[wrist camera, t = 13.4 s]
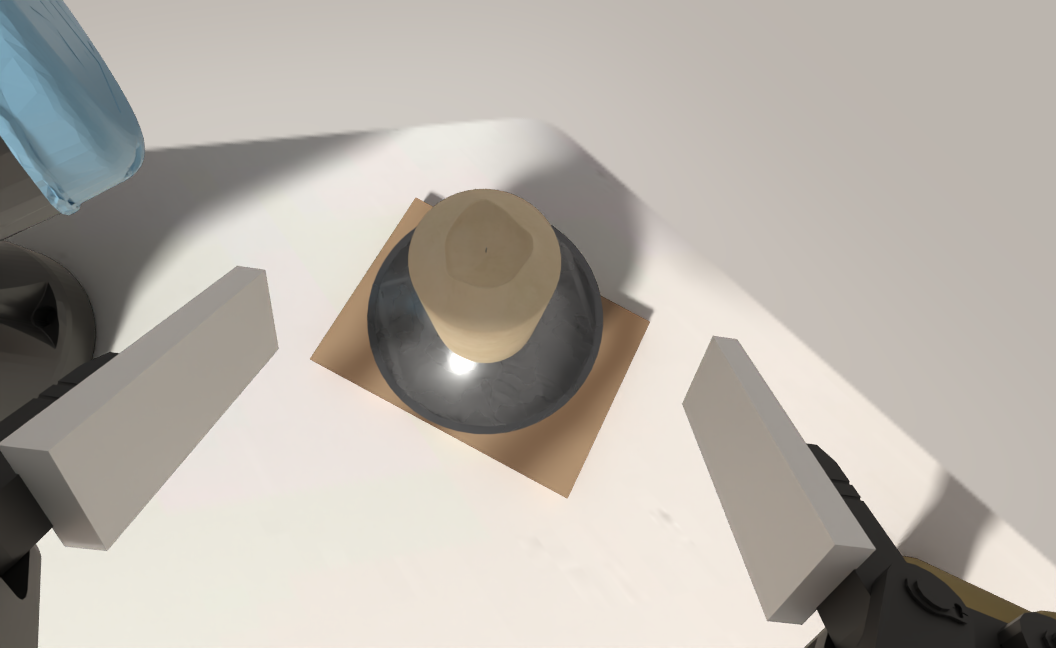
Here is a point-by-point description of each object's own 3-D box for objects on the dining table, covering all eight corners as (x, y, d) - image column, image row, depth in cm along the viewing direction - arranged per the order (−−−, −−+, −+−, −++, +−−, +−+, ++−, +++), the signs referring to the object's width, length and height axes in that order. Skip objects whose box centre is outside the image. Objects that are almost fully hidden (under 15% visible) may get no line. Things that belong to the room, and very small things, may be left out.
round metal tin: (360, 376, 31) (318, 360, 23) (453, 226, 34) (444, 167, 26) (524, 465, 31) (538, 479, 23) (604, 306, 34) (639, 271, 26)
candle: (435, 265, 25) (403, 163, 15) (534, 266, 25) (565, 169, 16) (432, 364, 24) (396, 323, 14) (536, 364, 24) (571, 324, 15)
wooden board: (317, 362, 32) (309, 359, 31) (418, 206, 36) (415, 197, 34) (563, 495, 32) (567, 498, 31) (643, 326, 35) (650, 321, 34)
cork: (878, 544, 33) (1064, 602, 23) (954, 572, 33) (1175, 642, 23) (865, 632, 32) (1057, 737, 21) (944, 660, 32) (1174, 779, 21)
